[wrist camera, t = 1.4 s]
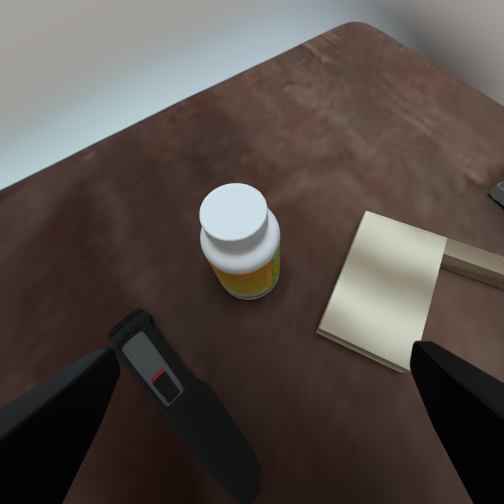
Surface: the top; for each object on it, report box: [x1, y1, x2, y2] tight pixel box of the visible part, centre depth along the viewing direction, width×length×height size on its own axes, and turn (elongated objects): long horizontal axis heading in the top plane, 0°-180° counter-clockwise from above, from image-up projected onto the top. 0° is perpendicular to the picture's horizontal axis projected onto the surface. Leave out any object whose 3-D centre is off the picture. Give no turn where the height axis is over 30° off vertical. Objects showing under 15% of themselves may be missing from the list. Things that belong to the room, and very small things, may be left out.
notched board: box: [316, 211, 504, 373], centre depth 21 cm, size 11×17×2 cm, turn 63°
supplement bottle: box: [200, 183, 280, 300], centre depth 20 cm, size 5×5×10 cm
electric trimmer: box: [107, 308, 260, 504], centre depth 20 cm, size 4×16×3 cm, turn 45°
